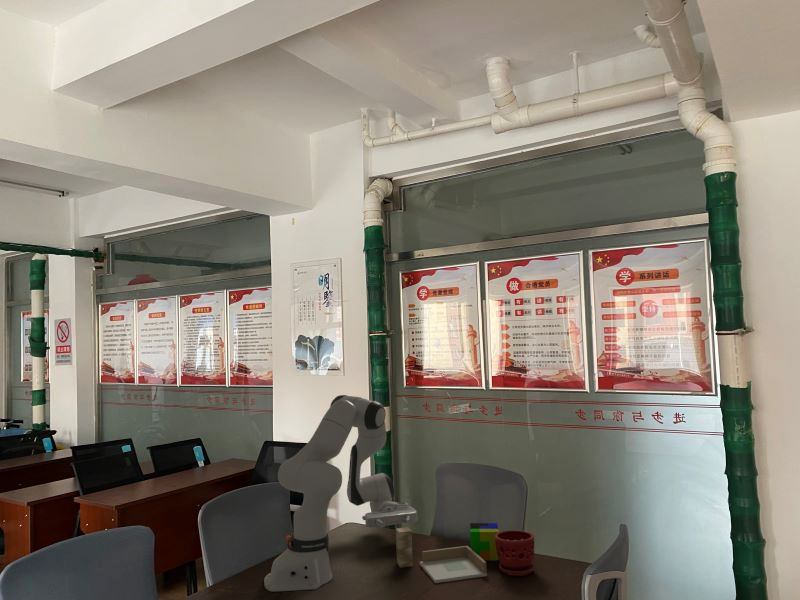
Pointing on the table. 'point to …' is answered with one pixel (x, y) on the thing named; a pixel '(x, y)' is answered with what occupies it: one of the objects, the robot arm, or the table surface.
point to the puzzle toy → (484, 540)
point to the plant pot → (515, 552)
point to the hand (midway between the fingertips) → (395, 523)
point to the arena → (453, 564)
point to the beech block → (404, 547)
